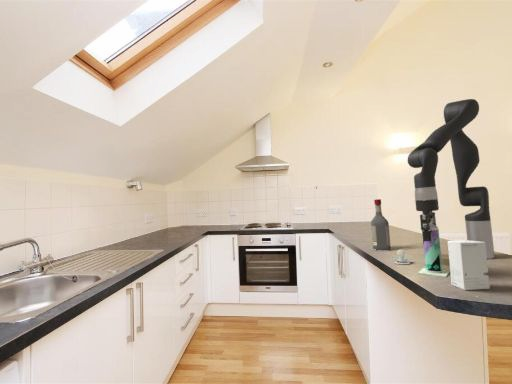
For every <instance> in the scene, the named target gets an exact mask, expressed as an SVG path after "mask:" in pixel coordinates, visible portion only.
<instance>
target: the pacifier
mask: <svg viewBox="0 0 512 384" xmlns="http://www.w3.org/2000/svg"><path fill="white" fill-rule="evenodd" d="M396 253H397V256H398V258H395V257H392V259H393V260H394V264H397V265H410V264H411V262H410V260H412V259H411V257H407V258H405V255H406V254H405V253H406V252H405V251H404V250H403V249H398V250H397V252H396Z"/></svg>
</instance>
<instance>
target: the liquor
mask: <svg viewBox="0 0 512 384" xmlns="http://www.w3.org/2000/svg"><path fill="white" fill-rule="evenodd" d="M373 202H374V206H375V215H374V217H373V218H372V219H371V222H370V225H371V226H370V227H371V237H372V238H371V239H372V248H373V250H374V249H376V250H375V251H378V250H388V251H391V249H392V248H391V235H390V226H389V225H390V224H389V221H388V220H387V219H386V218H385V216H384V215H383V213H382V199H379V198H378V199H374V201H373Z"/></svg>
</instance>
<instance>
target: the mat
mask: <svg viewBox="0 0 512 384" xmlns="http://www.w3.org/2000/svg"><path fill="white" fill-rule="evenodd" d="M417 274H419V275H428V276H433V277H443V278H447V277H448V275H449V274H450V271H449V270H443V272H442V273H430V272H427V271H426V267H422V268H421V269H419V271H418V272H417Z"/></svg>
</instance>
